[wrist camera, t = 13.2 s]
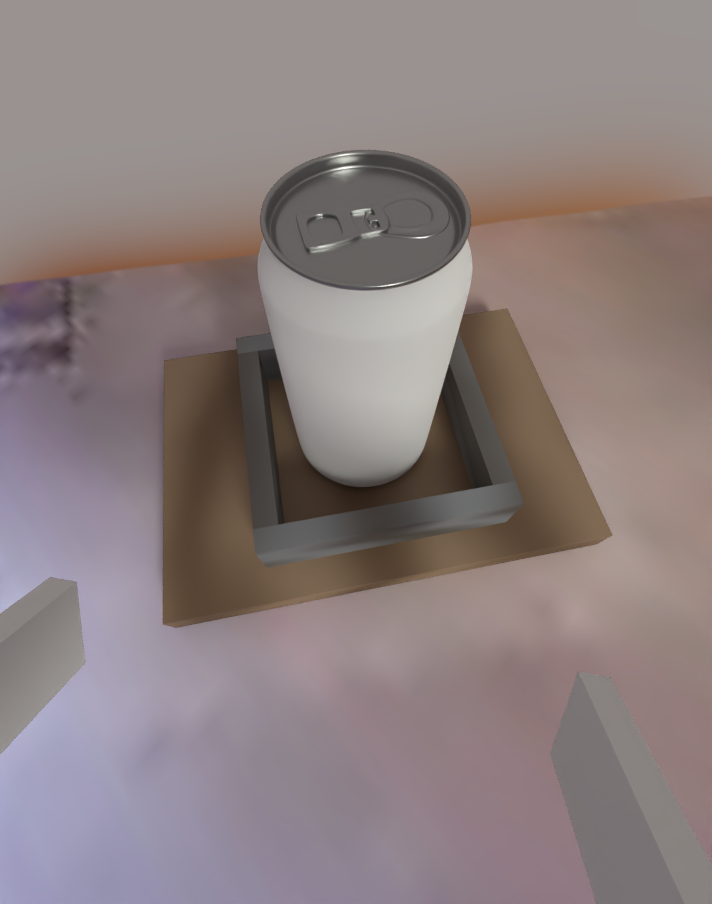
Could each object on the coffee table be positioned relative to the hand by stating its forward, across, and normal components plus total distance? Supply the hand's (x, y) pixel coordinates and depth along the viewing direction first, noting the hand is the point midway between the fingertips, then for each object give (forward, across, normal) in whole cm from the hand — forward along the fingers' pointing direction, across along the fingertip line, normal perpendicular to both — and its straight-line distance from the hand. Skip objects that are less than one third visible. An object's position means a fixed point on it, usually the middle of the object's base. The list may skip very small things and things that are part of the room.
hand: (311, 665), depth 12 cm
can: (+13, 0, +3) cm, 13 cm away
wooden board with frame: (+13, 0, +2) cm, 13 cm away
